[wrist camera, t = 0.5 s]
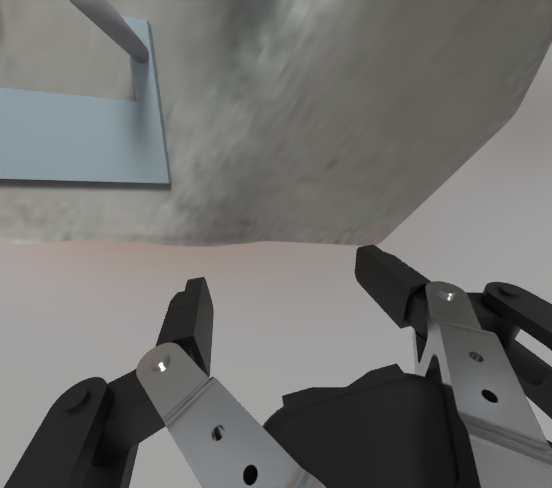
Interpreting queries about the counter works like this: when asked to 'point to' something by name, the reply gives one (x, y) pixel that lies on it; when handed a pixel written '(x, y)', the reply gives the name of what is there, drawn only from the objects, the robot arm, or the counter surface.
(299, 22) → the counter surface
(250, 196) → the counter surface
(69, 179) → the screw clamp
